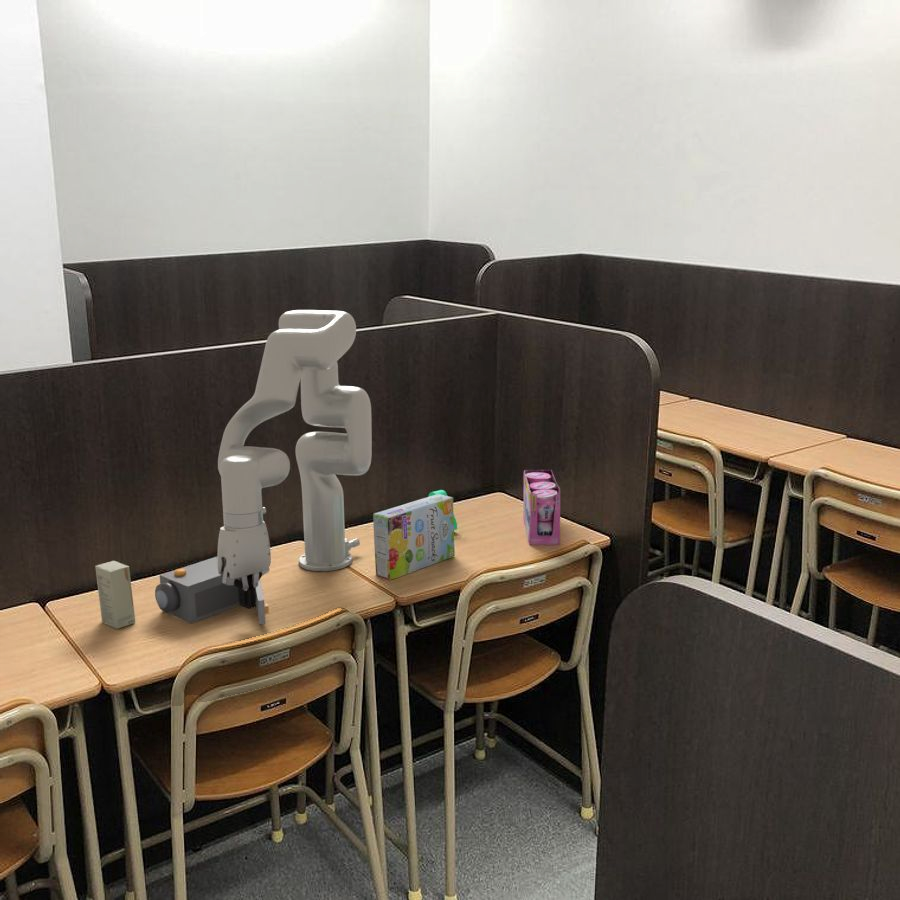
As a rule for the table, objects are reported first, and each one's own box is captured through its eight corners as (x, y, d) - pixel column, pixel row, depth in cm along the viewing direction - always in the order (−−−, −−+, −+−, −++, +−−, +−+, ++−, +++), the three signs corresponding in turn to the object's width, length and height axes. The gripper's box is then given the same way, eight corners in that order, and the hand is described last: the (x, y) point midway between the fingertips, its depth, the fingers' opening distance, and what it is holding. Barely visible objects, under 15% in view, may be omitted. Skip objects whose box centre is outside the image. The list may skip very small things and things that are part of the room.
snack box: (438, 551, 231) (438, 492, 227) (455, 557, 227) (455, 497, 223) (374, 575, 216) (372, 512, 212) (390, 581, 212) (389, 517, 209)
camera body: (225, 588, 209) (223, 550, 207) (254, 599, 202) (252, 561, 200) (151, 614, 195) (148, 574, 193) (179, 627, 189) (176, 586, 187)
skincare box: (136, 623, 191) (131, 566, 188) (116, 630, 188) (110, 572, 185) (119, 614, 195) (114, 559, 192) (100, 621, 192) (94, 564, 189)
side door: (254, 596, 202) (252, 574, 201) (264, 595, 202) (262, 573, 201) (259, 624, 188) (257, 601, 187) (269, 623, 189) (268, 599, 187)
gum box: (561, 547, 233) (562, 494, 230) (529, 547, 233) (529, 494, 230) (551, 517, 256) (552, 469, 253) (522, 517, 256) (522, 469, 253)
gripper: (261, 507, 193) (265, 591, 197) (199, 523, 182) (205, 612, 186) (285, 513, 188) (289, 600, 192) (222, 530, 177) (228, 622, 181)
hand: (247, 606), depth 189 cm, fingers closed
